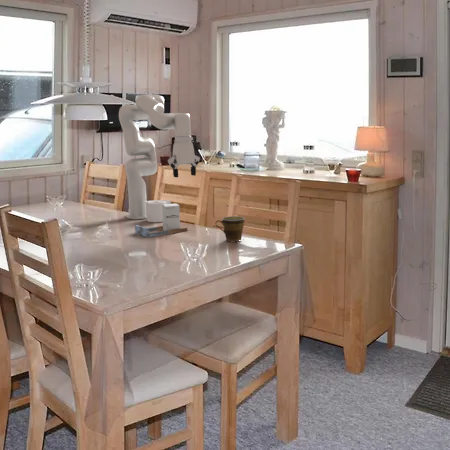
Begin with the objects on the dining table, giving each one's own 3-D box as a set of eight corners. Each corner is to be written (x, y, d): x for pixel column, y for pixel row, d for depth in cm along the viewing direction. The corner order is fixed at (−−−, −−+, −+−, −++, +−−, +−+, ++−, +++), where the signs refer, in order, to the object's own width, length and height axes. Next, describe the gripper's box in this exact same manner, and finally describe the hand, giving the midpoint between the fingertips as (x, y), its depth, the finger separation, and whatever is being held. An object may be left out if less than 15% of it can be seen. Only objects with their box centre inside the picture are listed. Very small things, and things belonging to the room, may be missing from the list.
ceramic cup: (244, 237, 280) (243, 216, 278) (245, 242, 270) (245, 220, 268) (215, 238, 279) (215, 216, 277) (216, 243, 270) (215, 221, 268)
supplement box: (165, 232, 294) (164, 206, 291) (162, 229, 301) (161, 203, 298) (180, 231, 296) (179, 205, 293) (177, 228, 303) (176, 202, 300)
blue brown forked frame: (135, 233, 293) (134, 224, 292) (174, 226, 306) (174, 219, 305) (147, 237, 284) (146, 228, 283) (187, 230, 297) (187, 222, 296)
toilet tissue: (142, 221, 321) (141, 202, 319) (155, 217, 331) (155, 199, 329) (159, 223, 316) (158, 204, 314) (172, 219, 326) (171, 200, 324)
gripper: (194, 138, 299) (195, 174, 302) (163, 140, 289) (165, 177, 292) (202, 139, 293) (204, 175, 296) (171, 141, 283) (173, 178, 286)
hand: (184, 176), depth 294 cm, fingers open, 9 cm apart
